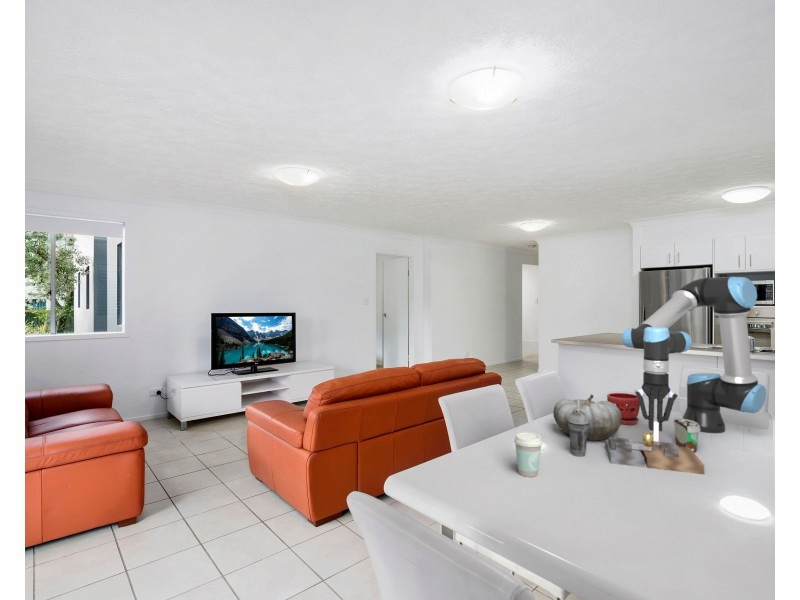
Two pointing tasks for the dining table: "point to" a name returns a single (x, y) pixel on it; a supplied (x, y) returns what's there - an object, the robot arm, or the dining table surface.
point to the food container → (686, 433)
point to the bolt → (644, 442)
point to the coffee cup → (528, 453)
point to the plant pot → (629, 411)
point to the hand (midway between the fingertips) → (655, 440)
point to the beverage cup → (578, 432)
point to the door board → (654, 456)
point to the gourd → (590, 416)
